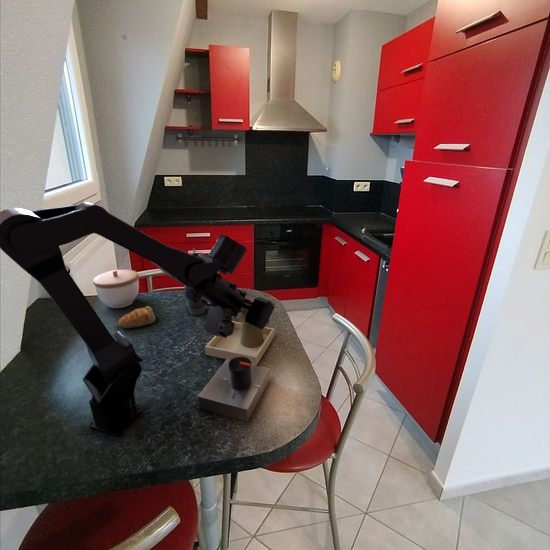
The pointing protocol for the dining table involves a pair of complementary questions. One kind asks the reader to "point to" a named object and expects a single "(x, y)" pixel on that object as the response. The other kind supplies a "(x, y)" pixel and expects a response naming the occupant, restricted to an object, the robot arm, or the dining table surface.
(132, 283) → the lidded bowl
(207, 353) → the wooden tray
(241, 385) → the stove knob
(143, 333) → the dining table surface
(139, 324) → the pastry
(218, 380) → the stove panel
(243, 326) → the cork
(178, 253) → the robot arm
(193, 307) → the beverage cup
